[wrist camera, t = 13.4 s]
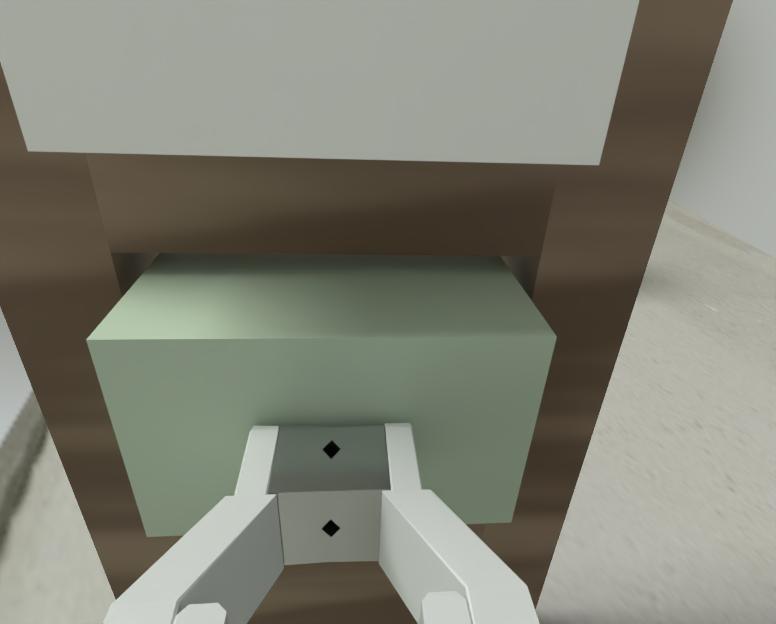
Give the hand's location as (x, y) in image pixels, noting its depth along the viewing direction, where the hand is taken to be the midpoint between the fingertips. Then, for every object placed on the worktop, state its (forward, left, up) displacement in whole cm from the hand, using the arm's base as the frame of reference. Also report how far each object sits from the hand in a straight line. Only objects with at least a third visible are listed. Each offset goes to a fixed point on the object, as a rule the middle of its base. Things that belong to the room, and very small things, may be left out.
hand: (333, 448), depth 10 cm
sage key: (+2, -1, -2) cm, 3 cm away
